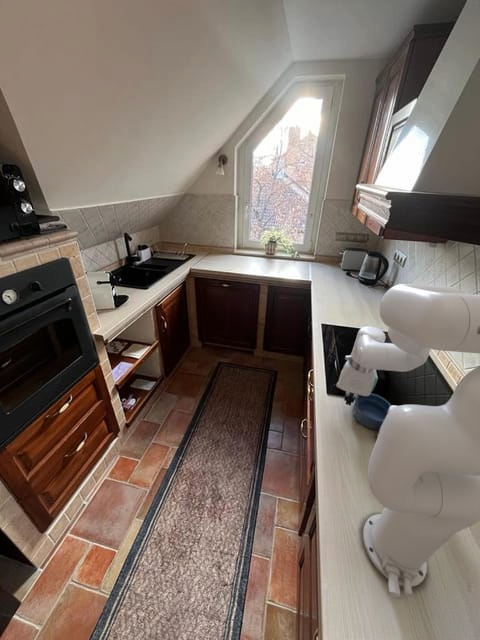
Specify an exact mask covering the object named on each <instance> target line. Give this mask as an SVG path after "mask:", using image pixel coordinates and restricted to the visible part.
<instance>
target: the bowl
mask: <svg viewBox="0 0 480 640" xmlns="http://www.w3.org/2000/svg"><path fill="white" fill-rule="evenodd" d="M390 406H392V404H391V403H390V402H389V401H388V400H387V399H386V398H384V397H382V396H380V395H379V394H375V393H372V392H371V394H370V395H369V396H362V395H361V396H358V397H357V398H355V400H354V403H352V406H351V411H352V414H353V416H354V418H355V419H356V420H357V421H358V422H359V424H362V426H365V428H370V429H372V430H378V431H379V430H380V427H381V425H382V423H383V421H384V419H385V417H386V415H387V413H388V409H389V407H390Z"/></svg>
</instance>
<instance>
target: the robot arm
mask: <svg viewBox="0 0 480 640" xmlns="http://www.w3.org/2000/svg"><path fill="white" fill-rule="evenodd" d="M378 312H379V316H380V319H381V321H382V322H383V324H384V325H385V326H386V327H388V328H387V335H388V337H389V340H390V341H391V342H385V341H386V339H387V338H386V337H387V336H386V334H385V332H384V331H383V330H381V329H380V328H378V327H375V326H372V325H371V326H370V325H367V326H366V325H365V326H363V327H361V328H360V329H359V330H358V331H357V335H356V338H355V341H354V344H353V348H352V351H351V353H350V354H349V355H345V356H344V360H346V362H345V363H344V365H343V366H342V370H341V371H340V374H339V376H338V381H337V383H336V384H335V385H336V388H338V389H340V390H342V392H344V397H343V400H344V402H345V405H346V406H349V407H352V406H351V405H352V404H354V401H355V398H357V397H358V396H361V395H362V396H369V395H370V394H371V393H372V392H373V391H372V388H373V384H374V381H375V376H376V373H377V371H392V372H401V373H402V372H410V371H414V370H415V369H417V368H419V367H421V366H423V365H424V364H425V363H427V361H428V358H429V357H430V353H431V350H434V351H443V352H456V353H457V352H458V353H467V354H468V353H469V354H480V294H473V293H472V294H471V293H467V292H465V291H464V290H461V289H460V288H458V287H454V286H448V285H441V284H440V285H438V284H422V283H421V284H420V283H399V284H398V283H397V284H395V285H393V286H392V287H390V288H389V289H387V291H386V292H385V293H384V294H383V296H382V297H381V300H380V303H379V309H378ZM397 406H398V407H396V408H394V409H392V410H391V411H390V412H389V413H388V414H387V416H386V418H385V420H384V422H383V425H382V427H381V430H380V433H379V435H378V438H377V437H376V441H375V444H374V446H373V449H372V451H371V454H370V457H369V461H368V467H367V480H368V485H369V488H370V491H371V493H372V495H373V497H374V499H375V500H376V501H377V502H378V503H379V504H380V505H381V506H383V507H384V509H383V511H382V512H381V513H377V514H373V515H371V516H370V517H369V518H367V520H366V521H365V524H364V526H363V530H362V539H363V545H364V548H365V551H366V554H367V555H368V557H369V559H370V561H371V562H372V563H373V565H374V566H375V568H376V569H377V571H379V572H380V574H382V575H383V577H385V578H386V579H387V582H388V583H387V585H388V594H389V595H390V596H391V597H392V598H395V599H400V598H401V590H400V588H401V587H403V594H404V595H406V596H407V597H411V598H412V597H413V588H415V587H417V586H419V585H420V584H421V583H422V582H423V581H424V580H425V578H426V575H427V573H428V562H427V561H428V560H429V559H430V558H431V557H432V556H433V555H434V554H435V553H436V552H437V551H438V550H439V549H440V548H441V547H442V546H443V545H445V544H446V542H447V541H449V539H451V538H453V536H454V535H456V534H457V533H458V532H461V531H463V530H465V529H467V528H470V527H472V526H474V525H475V524H477V523H478V522H480V365H478V366H476V367H475V368H473V369H472V370H470V371H469V372H468V373H467V374H466V375H464V376H463V377H462V378H461V379H460V380H459V382H458V383H457V385H456V386H455V389H454V391H453V393H452V395H451V397H450V398H449V399H448V401H447V402H446V403H445V404H441V405H437V406H436V405H424V404H423V405H422V404H402V405H397Z"/></svg>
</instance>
